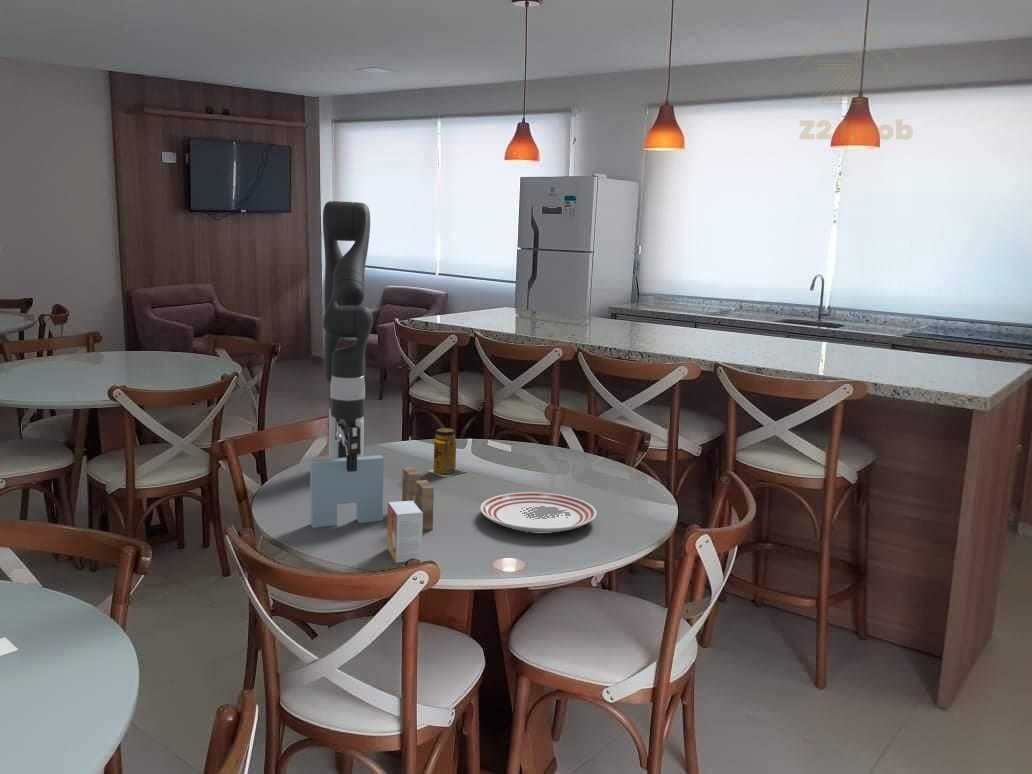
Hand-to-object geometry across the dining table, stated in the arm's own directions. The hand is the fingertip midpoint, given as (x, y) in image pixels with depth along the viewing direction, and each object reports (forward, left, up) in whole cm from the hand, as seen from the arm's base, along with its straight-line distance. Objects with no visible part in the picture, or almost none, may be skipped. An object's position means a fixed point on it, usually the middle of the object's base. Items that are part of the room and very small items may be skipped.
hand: (347, 465), depth 198 cm
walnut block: (+2, +16, -13) cm, 21 cm away
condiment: (-31, +35, -14) cm, 49 cm away
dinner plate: (+11, +43, -14) cm, 46 cm away
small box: (+22, +7, -14) cm, 27 cm away
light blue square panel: (0, 0, -13) cm, 13 cm away
